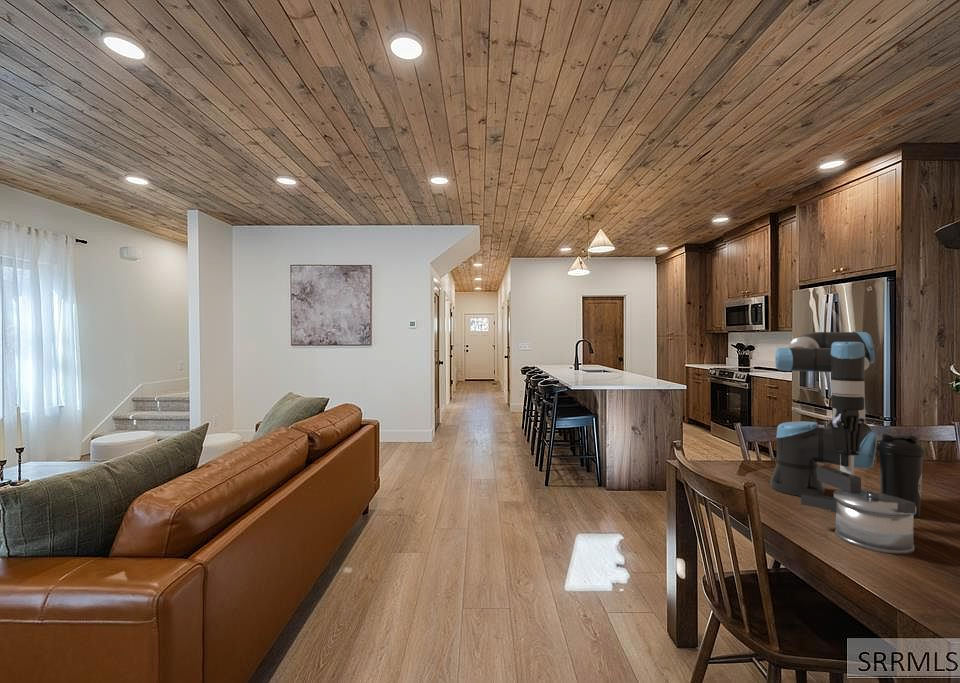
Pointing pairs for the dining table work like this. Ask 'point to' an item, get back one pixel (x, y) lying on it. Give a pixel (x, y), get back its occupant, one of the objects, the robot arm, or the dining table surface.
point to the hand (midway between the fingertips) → (847, 477)
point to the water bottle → (901, 468)
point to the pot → (867, 526)
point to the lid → (863, 494)
